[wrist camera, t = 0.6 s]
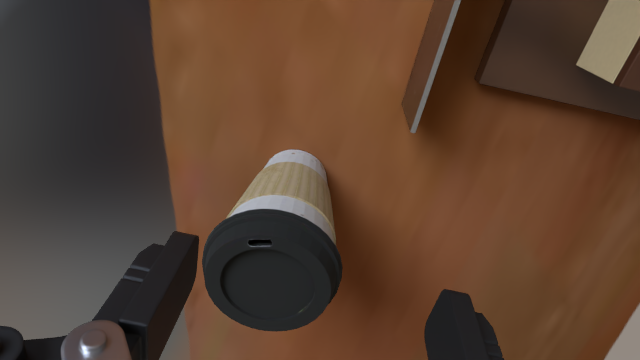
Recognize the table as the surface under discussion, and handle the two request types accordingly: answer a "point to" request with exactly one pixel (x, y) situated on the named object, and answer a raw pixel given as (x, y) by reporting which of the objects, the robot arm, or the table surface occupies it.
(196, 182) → the table surface
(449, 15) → the knife
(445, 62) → the table surface
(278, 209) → the coffee cup
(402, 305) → the table surface
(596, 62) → the cake slice
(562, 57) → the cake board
